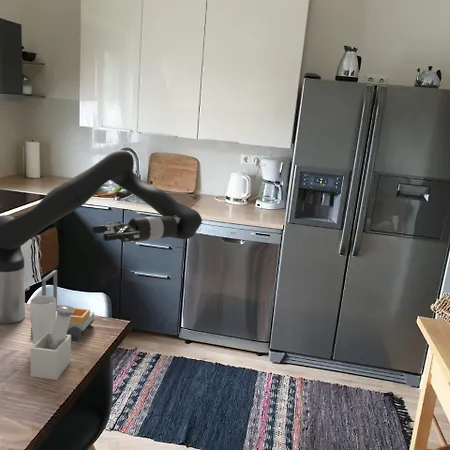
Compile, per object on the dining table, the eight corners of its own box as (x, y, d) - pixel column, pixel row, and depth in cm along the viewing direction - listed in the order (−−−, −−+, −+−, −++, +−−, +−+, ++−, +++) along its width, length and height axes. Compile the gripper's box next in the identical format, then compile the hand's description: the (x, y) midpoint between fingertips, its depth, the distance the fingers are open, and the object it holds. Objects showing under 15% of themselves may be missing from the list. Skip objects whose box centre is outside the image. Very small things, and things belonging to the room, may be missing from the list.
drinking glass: (47, 356, 129) (47, 306, 125) (25, 352, 130) (24, 302, 126) (60, 345, 135) (60, 297, 132) (39, 341, 136) (39, 293, 133)
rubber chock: (31, 336, 139) (31, 327, 138) (34, 333, 141) (34, 324, 140) (40, 337, 139) (40, 328, 138) (43, 334, 141) (43, 325, 140)
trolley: (39, 336, 139) (39, 280, 135) (56, 320, 150) (56, 268, 146) (81, 341, 138) (82, 285, 134) (95, 325, 149) (96, 273, 145)
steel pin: (39, 362, 121) (53, 305, 122) (50, 359, 126) (64, 304, 126) (53, 367, 120) (68, 310, 120) (64, 364, 124) (78, 309, 125)
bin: (30, 376, 119) (30, 348, 117) (46, 358, 128) (46, 332, 126) (56, 379, 118) (56, 351, 117) (70, 361, 127) (71, 335, 125)
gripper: (136, 212, 153) (88, 216, 143) (157, 222, 142) (108, 227, 132) (135, 234, 155) (88, 239, 145) (156, 245, 144) (107, 252, 134)
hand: (98, 233), depth 139 cm, fingers open, 8 cm apart
